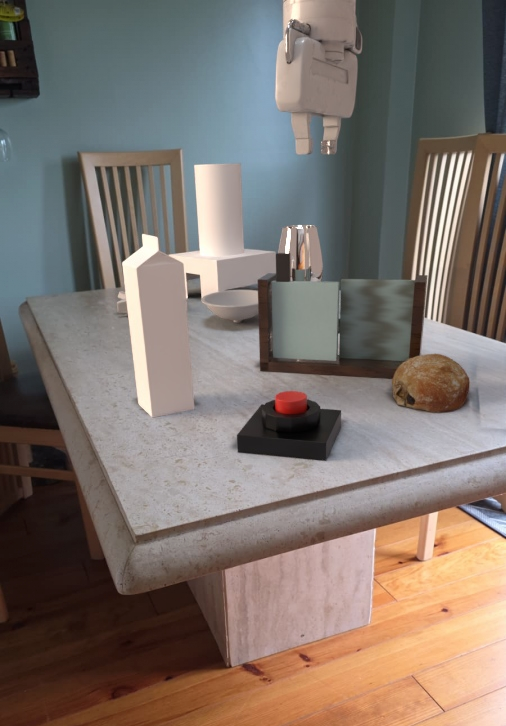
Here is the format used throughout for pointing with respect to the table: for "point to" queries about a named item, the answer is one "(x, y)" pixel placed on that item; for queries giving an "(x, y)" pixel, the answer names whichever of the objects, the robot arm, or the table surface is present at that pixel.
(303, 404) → the button
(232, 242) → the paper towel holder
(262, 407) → the button box
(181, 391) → the milk
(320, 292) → the window
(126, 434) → the table surface
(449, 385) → the bread roll
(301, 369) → the window frame
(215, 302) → the dish
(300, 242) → the wineglass
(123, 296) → the bunny figurine
